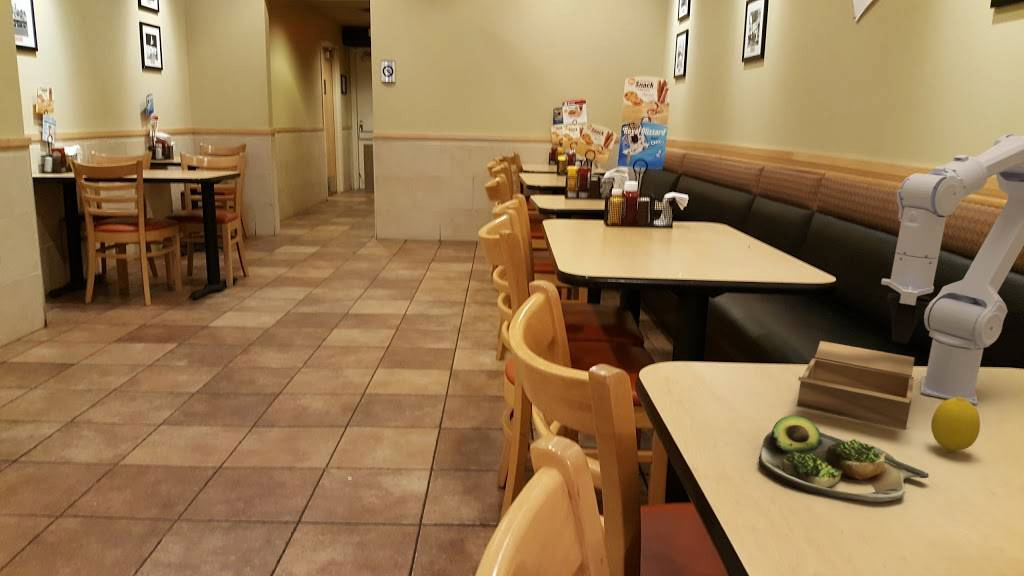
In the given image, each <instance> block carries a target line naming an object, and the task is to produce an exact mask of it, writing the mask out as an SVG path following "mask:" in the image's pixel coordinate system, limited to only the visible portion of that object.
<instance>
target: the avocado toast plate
mask: <svg viewBox="0 0 1024 576" xmlns="http://www.w3.org/2000/svg"><path fill="white" fill-rule="evenodd" d="M772 427H773V428H772V430H771V431H769V432H768V433H767V434H766V435H765V437H763V438H764V439H763V442H762V447H761V450H760V451H761V452H760V454H759V457H758V464H759V466H760V467H761V468H762V470H763V471H764V472H765V474H767V476H769V477H770V478H772V479H773V480H775V481H777V482H779V483H781V484H783V485H784V486H785V485H786V486H788V487H791V488H794V489H797V490H801V491H804V492H807V493H813V494H818V495H824V496H829V497H834V498H837V499H839V498H840V499H844V500H845V499H846V500H853V501H860V502H869V503H884V502H890V501H893V500H897V499H901V498H902V497H904V496H905V493H906V491H905V484H904V481H905V479H907V478H908V479H909V478H918V479H927V478H929V476H930V474H929V473H928V472H926V471H923V470H922V469H919V468H916V467H914V466H912V465H909V464H906V463H904V462H902V461H899V460H897V459H896V458H895V457H894V456H893V455H891V454H890V453H888V452H886V451H885V450H883V449H881V448H880V447H877V446H875V445H873V444H870V443H865V442H861V441H859V440H857V439H856V438H854V439H851V440H849V439H844V438H838V437H836V436H835V437H834V436H833V435H827V434H826V433H824V432H821V431H820V429H819V428H818V427H817V425H815V423H813V422H812V421H811V420H810V419H808V418H806V417H804V416H799V415H787V416H784V417H781V419H778V421H776V422H775V424H774V426H772ZM841 481H843V482H845V481H847V482H849V481H852V482H853V481H854V482H857V483H862V484H863V483H864V484H865V483H867V484H869V485H871V487H872V488H873V490H874V491H873V492H869V493H868V492H867V493H863V492H862V493H856V492H849V491H843V490H837V489H833V488H831V487H833V486H835V485H836V484H837V483H840V482H841Z"/></svg>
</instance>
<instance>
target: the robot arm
mask: <svg viewBox="0 0 1024 576" xmlns="http://www.w3.org/2000/svg"><path fill="white" fill-rule="evenodd" d="M993 176H996V177H995V178H996V180H997V183H998V187H999V188H998V189H999V190H1001V191H1002V192H1004V193H1005V194H1007V195H1008V198H1007V200H1006V202H1005V204H1004V206H1003V208H1002V210H1001V211H1000V213H999V215H998V216H997V218H996V221H995V222H994V223H993V225H992V227H991V229H990V231H989V232H988V235H987V236H986V238H985V240H984V242H983V243H982V245H981V246H980V249H979V250H978V252H977V254H976V256H975V257H974V259H973V261H972V262H971V265H970V266H969V269H968V270H967V272H966V274H965V276H964V277H963V279H961V280H958V281H955V282H952V283H950V284H947V285H944V286H943V287H942V288H941V290H940V291H939V293H938V294H937V296H936V297H934V298H933V299H932V300H931V301H930V297H928V296H925V295H927V294H931V293H934V289H935V287H934V282H935V281H934V280H935V277H936V276H935V275H936V271H937V266H938V261H939V256H940V250H941V246H942V240H943V236H944V229H945V226H946V220H947V216H950V215H952V214H953V213H954V212H955V211H956V209H957V207H958V205H959V204H960V203H961V202H962V201H963V199H964V198H966V197H969V196H971V195H973V194H974V193H977V192H978V191H980V190H982V189H983V188H984V187H985V186H986V184H987V182H988V178H991V177H993ZM896 203H897V205H898V215H897V217H898V222H900V225H899V232H898V237H897V242H896V243H897V244H896V247H895V254H894V258H893V264H892V270H891V275H890V279H889V278H882V279H881V282H880V284H881V285H882V286H883V285H884V286H888V287H890V289H893V290H895V291H896V292H889V293H888V294H887V299H886V300H887V303H888V305H889V308H890V313H891V339H892V342H895V343H901V344H907V345H908V343H909V341H910V340H911V337H912V335H913V333H914V330H915V327H916V325H917V323H918V321H919V319H920V317H921V315H922V314H923V313H924V315H923V319H924V320H923V321H924V325H925V326H924V327H925V328H926V330H927V331H929V334H928V336H929V337H931V338H932V342H931V347H930V352H929V357H928V363H927V368H926V374H925V375H922V376H921V384H920V386H921V387H920V393H921V394H922V395H926V396H931V397H936V398H941V399H946V400H948V399H953V398H957V397H963V398H964V399H965V400H966V401H968V402H969V403H971V404H972V405H978V403H979V402H978V395H977V387H976V385H977V381H978V377H979V373H980V366H981V363H982V362H981V361H982V357H983V353H984V348H988V347H990V346H991V345H992V344H993V343H995V342H996V341H997V339H998V338H999V336H1000V334H1001V333H1002V331H1003V330H1002V329H1003V324H1004V320H1005V318H1006V316H1007V313H1008V308H1007V304H1006V303H1005V302H1004V301H1003V299H1002V297H1000V294H998V292H999V290H1000V288H1001V287H1002V285H1003V283H1004V282H1005V280H1006V278H1007V276H1008V274H1009V272H1010V271H1011V269H1012V267H1013V265H1014V264H1015V262H1016V259H1017V258H1018V257H1019V255H1020V252H1021V251H1022V249H1023V247H1024V135H1016V134H1011V133H1007V134H1004V135H1002V136H1001V137H1000V136H999V137H997V138H996V139H995V141H994V143H993V146H992V147H990V148H989V149H986V150H985V151H984V152H982V153H980V154H979V155H977V156H970V155H968V154H957V155H955V156H953V160H952V161H949V162H947V163H946V164H943V165H938V166H935V167H933V169H932V170H931V171H929V172H927V173H921V172H920V173H918V172H915V173H912V174H911V175H909V176H908V177H906V178H905V179H904V180H903V181H902V183H901V185H900V186H899V189H898V190H897V191H896ZM897 292H898V293H897Z"/></svg>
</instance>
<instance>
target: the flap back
mask: <svg viewBox="0 0 1024 576" xmlns="http://www.w3.org/2000/svg"><path fill="white" fill-rule="evenodd" d="M816 350H817V351H816V353H815V355H814V358H815V359H820V360H826V361H831V362H836V363H841V364H847V365H852V366H857V367H862V368H868V369H873V370H878V371H884V372H889V373H894V374H899V375H905V376H910V377H913V376H912V375H913V369H914V363H915V357H912V356H907V355H902V354H896V353H890V352H885V351H879V350H874V349H873V350H872V349H868V348H867V349H866V348H863V347H858V346H857V347H856V346H851V345H845V344H839V343H835V342H829V341H822V340H820V341H819V344H818V347H817V349H816Z"/></svg>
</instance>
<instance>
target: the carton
mask: <svg viewBox="0 0 1024 576" xmlns="http://www.w3.org/2000/svg"><path fill="white" fill-rule="evenodd" d="M801 377H803V378H808V379H813V380H818V381H823V382H828V383H833V384H838V385H842V386H847V387H852V388H857V389H862V390H867V391H872V392H877V393H882V394H887V395H892V396H897V397H902V398H907V399H910V402H909V403H904V402H899V401H894V400H889V399H885V398H880V397H875V396H870V395H865V394H860V393H855V392H850V391H846V390H841V389H836V388H831V387H826V386H821V385H816V384H811V383H806V382H802V381H800V383H799V389H798V394H797V395H798V397H797V404H796V406H797V407H802V408H805V409H809V410H814V411H819V412H822V413H823V412H824V413H828V414H833V415H837V416H841V417H846V418H851V419H855V420H859V421H865V422H869V423H872V424H878V425H882V426H886V427H892V428H895V429H900V430H905V431H906V430H907V426H908V421H909V420H908V419H909V414H910V411H911V405H912V404H911V403H912V396H913V387H914V377H913V376H912V377H910V376H905V375H899V374H894V373H889V372H884V371H878V370H873V369H868V368H862V367H857V366H852V365H847V364H841V363H836V362H831V361H826V360H820V359H815V357H814V358H812V359H811V360H810V361H809V363H808V366H807V367H806V369H805V370H804V372H803V374H802V375H801Z"/></svg>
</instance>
